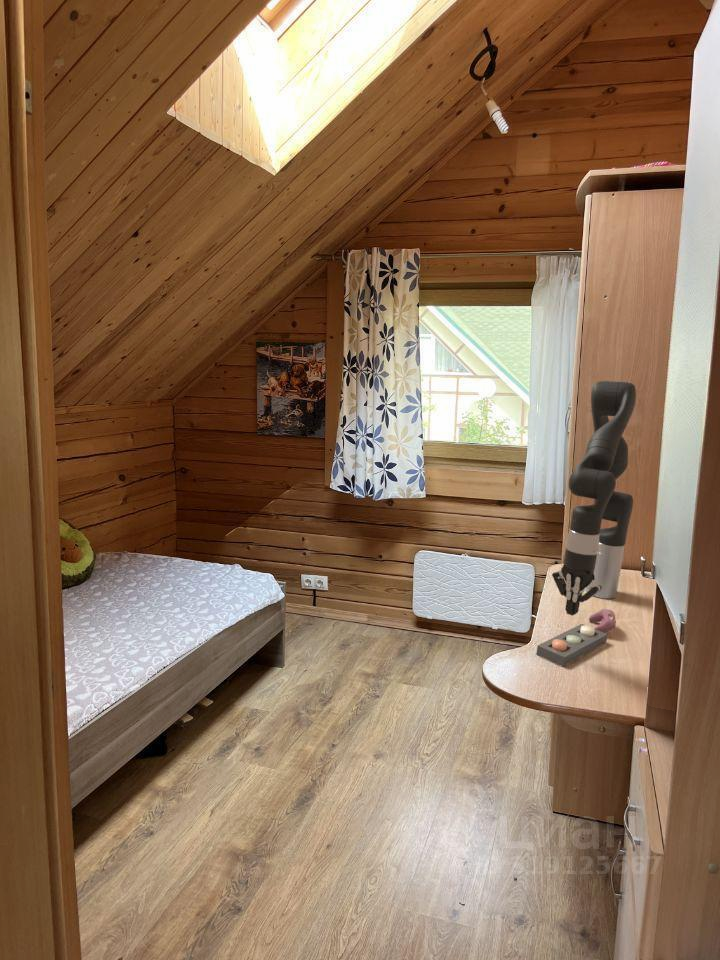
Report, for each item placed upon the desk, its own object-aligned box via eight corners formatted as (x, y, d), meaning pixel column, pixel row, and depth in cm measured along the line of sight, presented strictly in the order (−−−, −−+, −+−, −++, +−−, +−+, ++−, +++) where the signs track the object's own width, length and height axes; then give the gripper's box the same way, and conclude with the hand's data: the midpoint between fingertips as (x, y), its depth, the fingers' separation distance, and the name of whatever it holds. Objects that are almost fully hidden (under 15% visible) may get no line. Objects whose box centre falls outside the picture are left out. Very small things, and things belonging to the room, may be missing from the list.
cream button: (583, 632, 185) (585, 624, 184) (596, 637, 182) (597, 629, 182) (576, 636, 182) (578, 627, 182) (589, 641, 180) (590, 632, 179)
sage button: (569, 642, 180) (571, 633, 180) (582, 647, 178) (583, 639, 177) (562, 645, 178) (564, 637, 177) (575, 651, 175) (576, 642, 175)
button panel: (580, 632, 188) (581, 623, 187) (606, 642, 183) (607, 634, 182) (536, 654, 173) (537, 645, 172) (563, 666, 168) (564, 657, 167)
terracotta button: (556, 646, 175) (557, 638, 175) (568, 652, 173) (570, 643, 172) (548, 650, 173) (549, 641, 172) (561, 656, 170) (562, 647, 170)
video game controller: (605, 642, 186) (621, 623, 184) (591, 633, 186) (607, 614, 184) (600, 627, 196) (615, 609, 194) (586, 618, 196) (601, 600, 194)
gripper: (549, 543, 171) (540, 608, 174) (599, 558, 161) (588, 627, 165) (565, 539, 176) (555, 602, 179) (614, 553, 167) (602, 620, 170)
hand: (571, 614), depth 172 cm, fingers closed
